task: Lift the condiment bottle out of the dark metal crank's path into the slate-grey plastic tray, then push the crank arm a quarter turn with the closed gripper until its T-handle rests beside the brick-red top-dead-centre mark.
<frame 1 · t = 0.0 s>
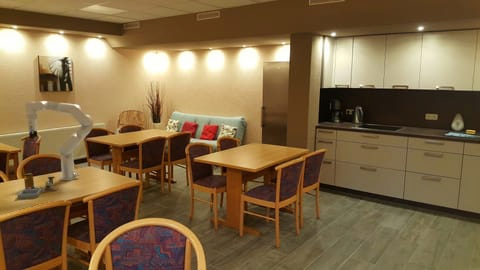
hand: (33, 137, 288), 37 cm above the table, tool pointing down, fingers open, 9 cm apart
condiment: (31, 188, 273), on the table
crank: (49, 182, 273), point 5 cm above the table, hinge at 0.0°
crank base: (48, 190, 270), on the table
tray: (30, 195, 257), on the table
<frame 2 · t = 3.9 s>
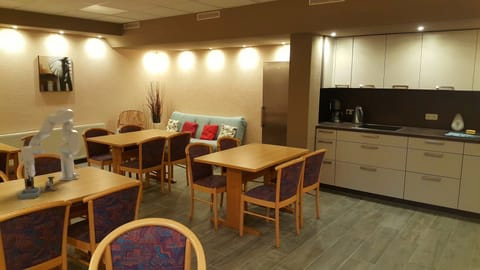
hand: (30, 184, 273), 3 cm above the table, tool pointing down, fingers closed on condiment, 6 cm apart
condiment: (31, 188, 274), on the table, touching gripper
everything else where it was.
when the fingers open (6 cm above the table, at t = 10.7 s): condiment stays where it is, resting on tray.
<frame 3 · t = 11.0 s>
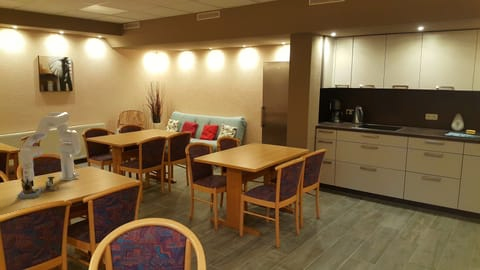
hand: (29, 188, 256), 6 cm above the table, tool pointing down, fingers open, 9 cm apart
condiment: (30, 193, 257), point 2 cm above the table, touching gripper, tray
everything else where it was.
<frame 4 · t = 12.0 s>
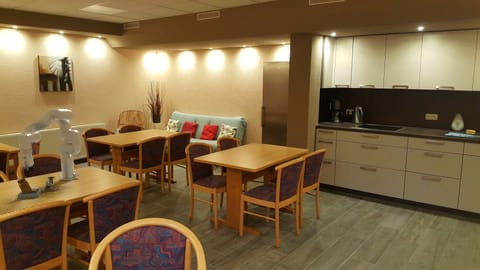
hand: (28, 173, 255), 16 cm above the table, tool pointing down, fingers open, 9 cm apart
condiment: (29, 193, 257), point 2 cm above the table, touching tray
everything else where it was.
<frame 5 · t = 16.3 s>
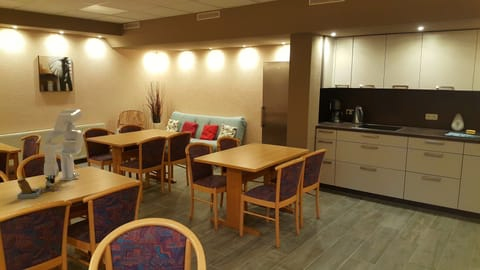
hand: (52, 183, 275), 4 cm above the table, tool pointing down, fingers closed
crank: (48, 182, 273), point 5 cm above the table, hinge at 9.9°, touching gripper
everything else where it was.
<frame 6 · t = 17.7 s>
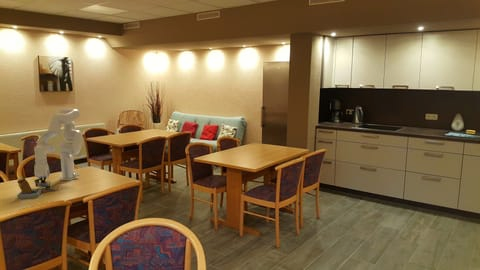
hand: (43, 184, 273), 3 cm above the table, tool pointing down, fingers closed
crank: (42, 183, 270), point 5 cm above the table, hinge at 59.8°, touching gripper
everything else where it was.
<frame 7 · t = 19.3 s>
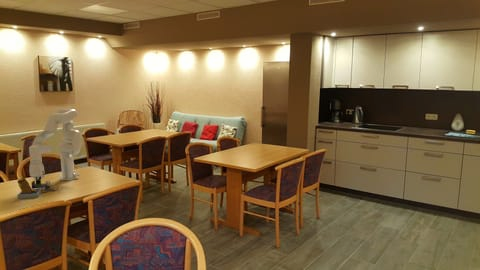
hand: (38, 184, 270), 4 cm above the table, tool pointing down, fingers closed
crank: (41, 184, 268), point 5 cm above the table, hinge at 89.4°
everything else where it was.
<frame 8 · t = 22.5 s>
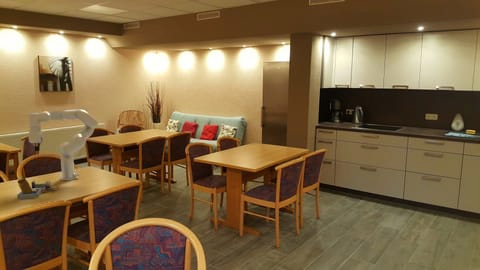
hand: (37, 150, 283), 27 cm above the table, tool pointing down, fingers closed
nothing on the table moved.
at the end: condiment inside the target area on the tray (0.4 cm from its centre), point 1.8 cm above the tray's base; condiment tilted 19°; crank at +89° (first picture: +0°) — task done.
